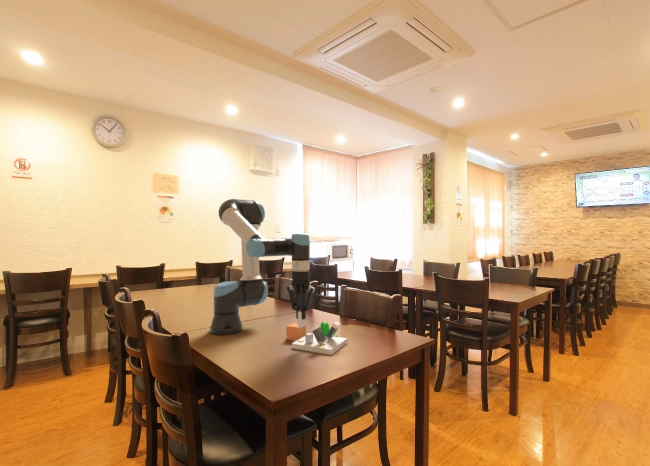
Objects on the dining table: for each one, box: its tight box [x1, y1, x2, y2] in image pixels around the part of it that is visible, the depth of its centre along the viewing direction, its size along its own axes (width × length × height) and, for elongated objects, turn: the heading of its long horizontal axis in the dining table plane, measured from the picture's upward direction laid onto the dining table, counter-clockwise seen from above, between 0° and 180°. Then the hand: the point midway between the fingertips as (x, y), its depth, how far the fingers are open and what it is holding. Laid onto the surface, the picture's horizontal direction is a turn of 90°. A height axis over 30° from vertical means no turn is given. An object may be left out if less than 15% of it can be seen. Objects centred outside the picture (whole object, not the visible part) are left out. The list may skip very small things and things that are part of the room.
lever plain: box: [326, 320, 341, 340], centre depth 144 cm, size 2×4×8 cm, turn 154°
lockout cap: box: [285, 322, 307, 342], centre depth 153 cm, size 6×6×6 cm
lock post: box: [305, 332, 313, 344], centre depth 141 cm, size 2×2×4 cm
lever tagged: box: [310, 322, 326, 345], centre depth 139 cm, size 2×4×8 cm, turn 154°
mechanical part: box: [320, 321, 339, 337], centre depth 156 cm, size 12×6×8 cm, turn 23°
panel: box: [291, 332, 348, 356], centre depth 143 cm, size 18×17×2 cm
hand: (301, 326), depth 142 cm, fingers closed
